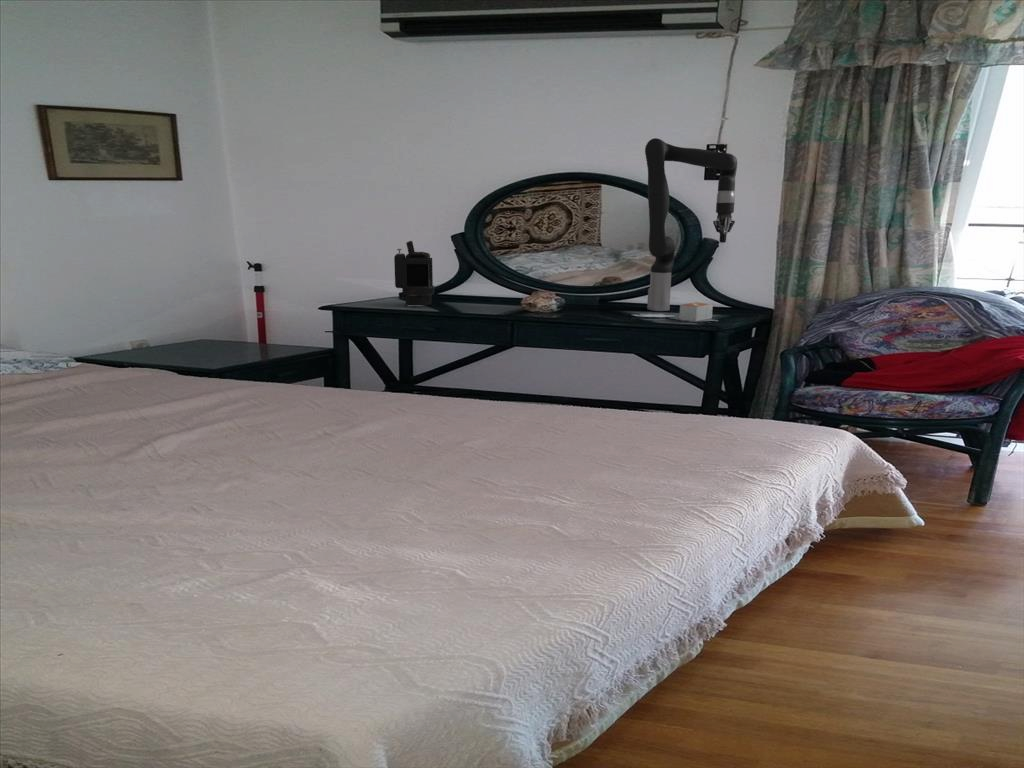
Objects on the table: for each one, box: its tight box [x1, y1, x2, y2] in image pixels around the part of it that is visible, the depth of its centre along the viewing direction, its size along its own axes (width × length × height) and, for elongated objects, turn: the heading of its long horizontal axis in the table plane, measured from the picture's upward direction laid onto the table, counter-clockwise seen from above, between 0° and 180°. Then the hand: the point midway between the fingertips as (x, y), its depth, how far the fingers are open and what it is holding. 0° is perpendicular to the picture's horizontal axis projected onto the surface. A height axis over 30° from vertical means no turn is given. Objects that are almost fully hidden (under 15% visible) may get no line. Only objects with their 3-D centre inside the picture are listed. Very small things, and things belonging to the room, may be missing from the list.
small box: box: [678, 301, 713, 321], centre depth 310 cm, size 8×6×13 cm
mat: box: [675, 315, 719, 323], centre depth 311 cm, size 18×12×1 cm
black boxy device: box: [393, 240, 435, 305], centre depth 349 cm, size 15×18×30 cm
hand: (722, 242), depth 326 cm, fingers closed
